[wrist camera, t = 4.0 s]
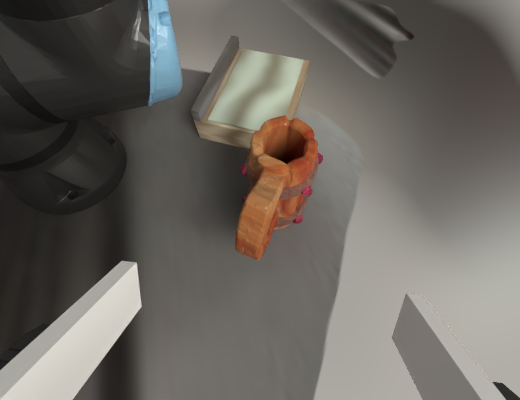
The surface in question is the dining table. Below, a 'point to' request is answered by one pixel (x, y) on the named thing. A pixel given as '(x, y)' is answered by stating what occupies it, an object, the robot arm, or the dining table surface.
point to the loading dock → (247, 94)
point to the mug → (276, 181)
